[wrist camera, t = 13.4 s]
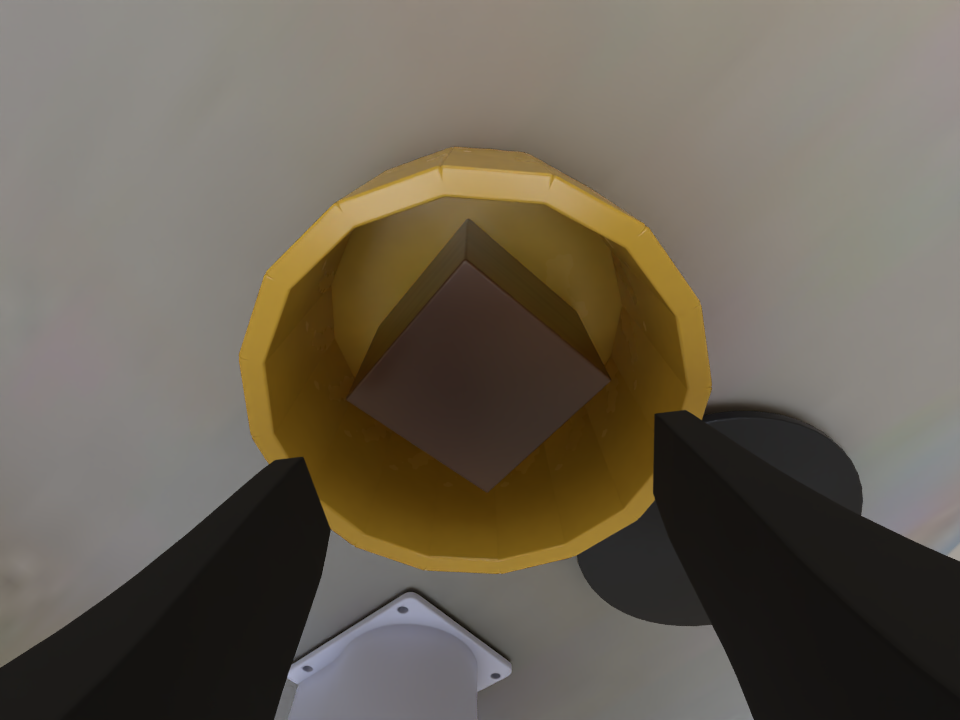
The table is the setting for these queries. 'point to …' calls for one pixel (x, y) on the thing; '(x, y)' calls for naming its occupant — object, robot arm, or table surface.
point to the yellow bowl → (377, 290)
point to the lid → (645, 543)
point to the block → (478, 361)
